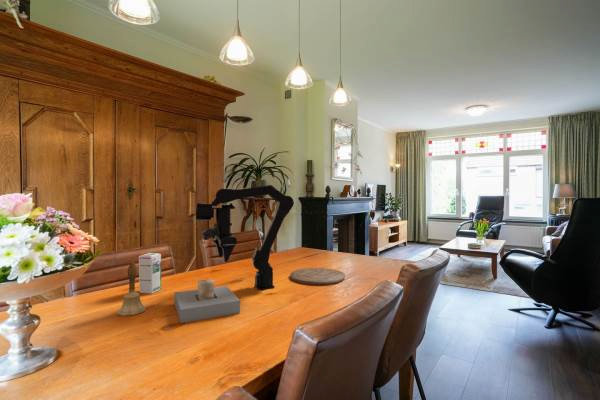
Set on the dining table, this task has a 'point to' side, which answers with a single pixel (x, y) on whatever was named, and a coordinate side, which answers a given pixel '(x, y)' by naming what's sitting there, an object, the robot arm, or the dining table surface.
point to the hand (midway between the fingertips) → (223, 259)
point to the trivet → (317, 276)
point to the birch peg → (205, 289)
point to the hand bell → (131, 296)
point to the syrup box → (150, 273)
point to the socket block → (205, 304)
